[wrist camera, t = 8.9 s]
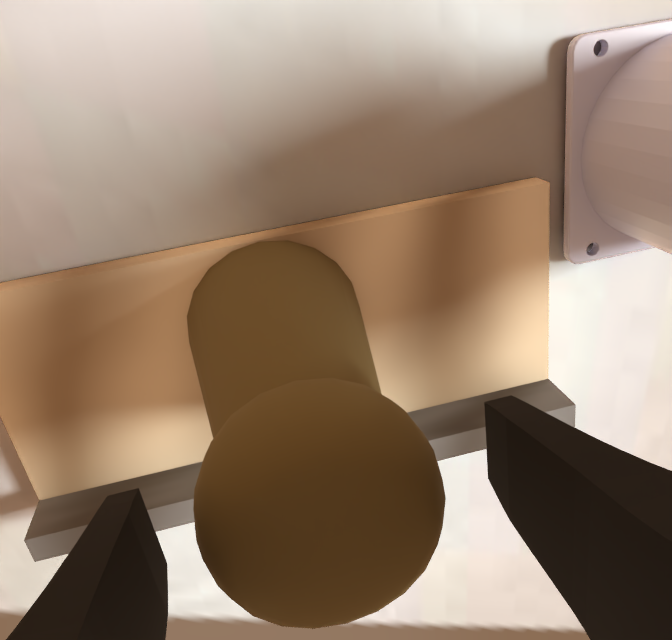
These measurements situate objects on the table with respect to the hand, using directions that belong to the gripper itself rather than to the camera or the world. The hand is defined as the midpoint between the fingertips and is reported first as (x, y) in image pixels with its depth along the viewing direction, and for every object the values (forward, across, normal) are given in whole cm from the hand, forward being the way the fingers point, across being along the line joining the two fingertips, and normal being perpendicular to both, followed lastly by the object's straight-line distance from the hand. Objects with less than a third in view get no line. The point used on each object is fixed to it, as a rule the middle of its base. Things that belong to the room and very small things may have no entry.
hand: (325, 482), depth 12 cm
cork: (+10, 0, 0) cm, 10 cm away
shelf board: (+10, 0, +2) cm, 11 cm away
